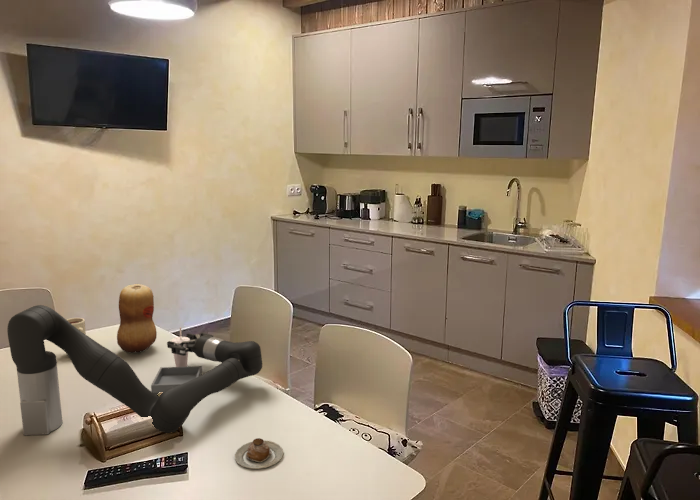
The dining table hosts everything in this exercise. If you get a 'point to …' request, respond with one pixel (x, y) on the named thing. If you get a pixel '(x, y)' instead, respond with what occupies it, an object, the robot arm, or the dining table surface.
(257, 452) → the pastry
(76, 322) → the character mug
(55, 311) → the robot arm
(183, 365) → the smoothie
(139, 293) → the butternut squash
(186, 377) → the bin
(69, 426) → the dining table surface
